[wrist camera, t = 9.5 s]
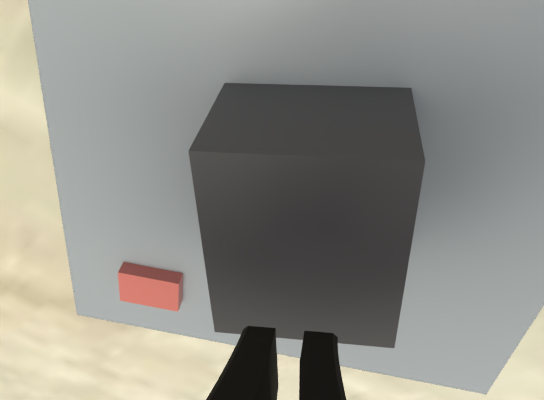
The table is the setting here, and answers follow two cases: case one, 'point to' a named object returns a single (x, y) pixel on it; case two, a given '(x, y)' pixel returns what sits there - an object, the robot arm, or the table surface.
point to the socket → (303, 71)
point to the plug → (308, 208)
